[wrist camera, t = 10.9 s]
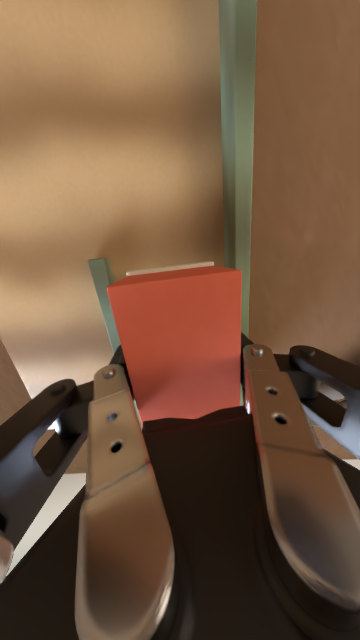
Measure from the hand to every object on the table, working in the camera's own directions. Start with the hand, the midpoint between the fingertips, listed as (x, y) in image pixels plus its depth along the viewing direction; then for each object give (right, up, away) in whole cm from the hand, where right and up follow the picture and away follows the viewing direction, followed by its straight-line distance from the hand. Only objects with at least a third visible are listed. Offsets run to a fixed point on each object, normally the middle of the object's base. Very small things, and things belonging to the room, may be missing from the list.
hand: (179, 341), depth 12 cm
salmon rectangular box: (0, -1, +1) cm, 1 cm away
